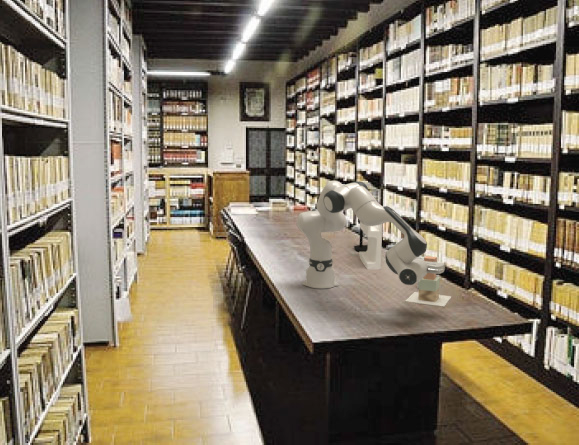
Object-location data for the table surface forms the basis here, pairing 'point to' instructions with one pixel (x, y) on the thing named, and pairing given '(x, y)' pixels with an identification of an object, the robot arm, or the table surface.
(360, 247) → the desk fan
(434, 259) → the terracotta block
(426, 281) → the sage slab
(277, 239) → the table surface
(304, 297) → the table surface
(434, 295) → the wooden block
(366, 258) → the white stand
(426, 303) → the felt pad
